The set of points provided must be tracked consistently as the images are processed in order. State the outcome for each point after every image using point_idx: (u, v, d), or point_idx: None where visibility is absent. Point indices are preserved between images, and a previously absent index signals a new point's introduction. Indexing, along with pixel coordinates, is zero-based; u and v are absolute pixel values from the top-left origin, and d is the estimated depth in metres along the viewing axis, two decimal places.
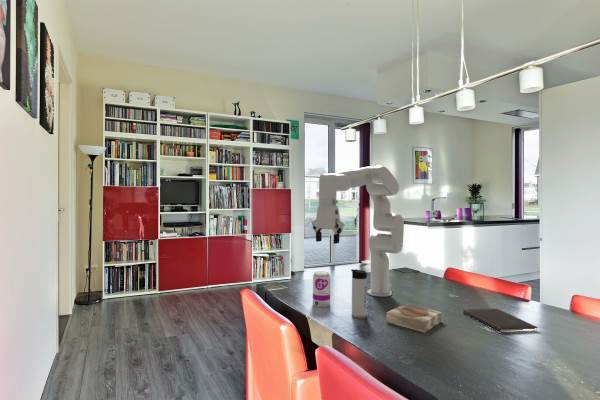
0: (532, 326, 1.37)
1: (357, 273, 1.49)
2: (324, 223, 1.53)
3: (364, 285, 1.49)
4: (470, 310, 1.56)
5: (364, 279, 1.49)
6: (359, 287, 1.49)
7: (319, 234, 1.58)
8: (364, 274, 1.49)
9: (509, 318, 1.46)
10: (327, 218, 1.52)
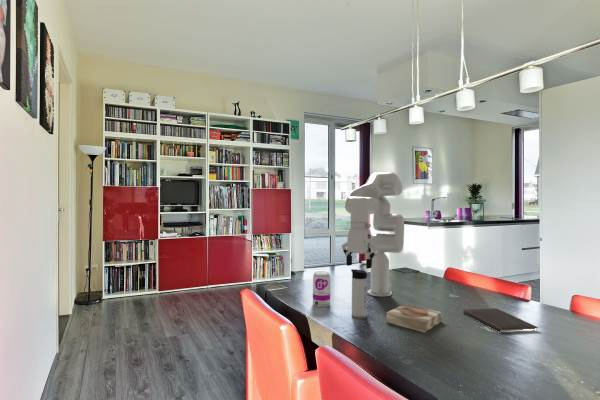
0: (532, 326, 1.37)
1: (357, 273, 1.49)
2: (356, 247, 1.50)
3: (364, 285, 1.49)
4: (470, 310, 1.56)
5: (364, 279, 1.49)
6: (359, 287, 1.49)
7: (350, 258, 1.55)
8: (364, 274, 1.49)
9: (509, 318, 1.46)
10: (359, 242, 1.49)
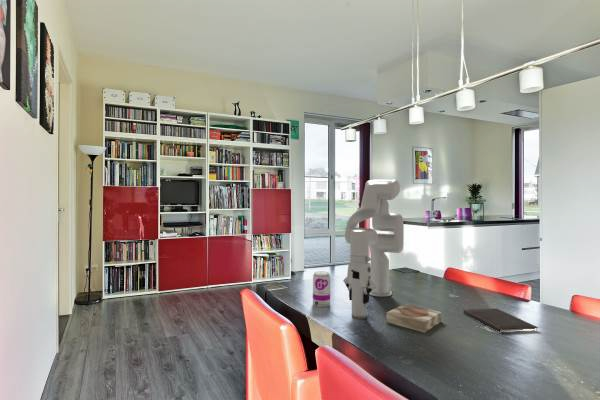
0: (532, 326, 1.37)
1: (357, 273, 1.49)
2: None
3: None
4: (470, 310, 1.56)
5: None
6: (359, 287, 1.49)
7: None
8: None
9: (509, 318, 1.46)
10: None
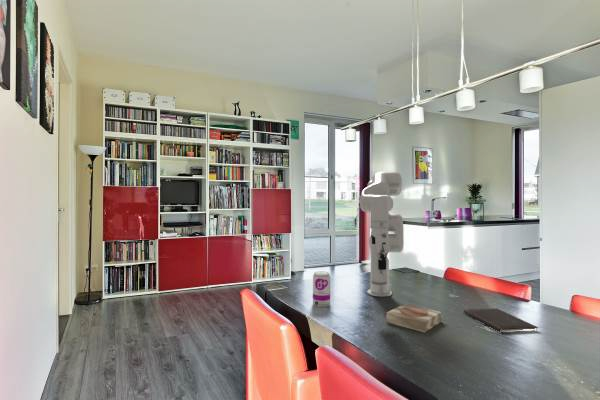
0: (532, 326, 1.37)
1: (373, 238, 1.48)
2: None
3: None
4: (470, 310, 1.56)
5: None
6: (374, 252, 1.48)
7: None
8: None
9: (510, 318, 1.46)
10: (375, 241, 1.47)
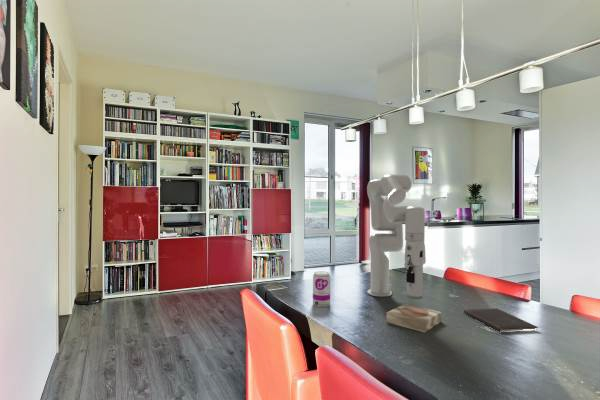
0: (532, 326, 1.37)
1: None
2: None
3: (409, 263, 1.44)
4: (470, 310, 1.56)
5: None
6: None
7: None
8: None
9: (510, 318, 1.46)
10: None
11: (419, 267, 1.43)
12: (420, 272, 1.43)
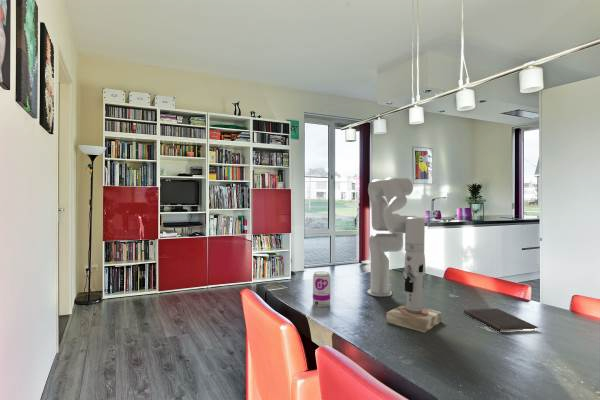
0: (532, 326, 1.37)
1: None
2: None
3: None
4: (470, 310, 1.56)
5: None
6: None
7: None
8: None
9: (510, 318, 1.46)
10: None
11: (419, 282, 1.43)
12: (420, 287, 1.43)
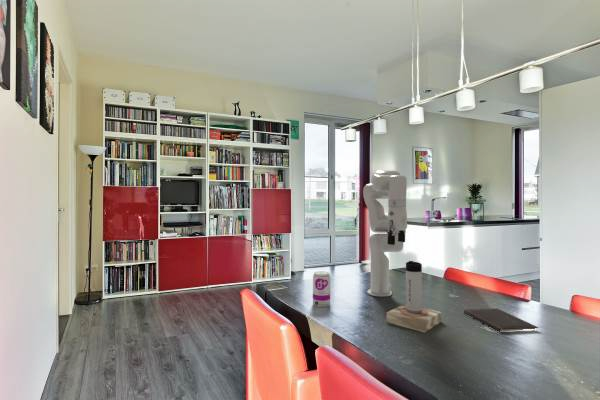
0: (532, 326, 1.37)
1: None
2: None
3: (408, 278, 1.44)
4: (471, 310, 1.56)
5: (408, 272, 1.44)
6: None
7: (401, 235, 1.59)
8: (408, 266, 1.44)
9: (510, 318, 1.46)
10: None
11: (418, 282, 1.43)
12: (419, 286, 1.43)
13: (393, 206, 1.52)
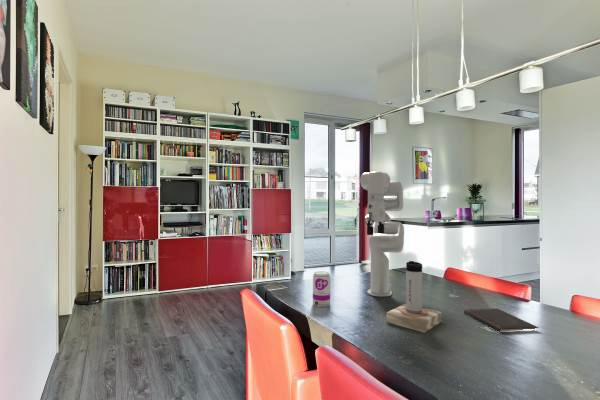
0: (533, 326, 1.37)
1: None
2: None
3: (409, 278, 1.44)
4: (471, 310, 1.56)
5: (409, 272, 1.44)
6: (406, 278, 1.46)
7: (380, 227, 1.72)
8: (409, 266, 1.44)
9: (510, 318, 1.46)
10: None
11: (418, 282, 1.43)
12: (419, 287, 1.43)
13: (372, 200, 1.66)
